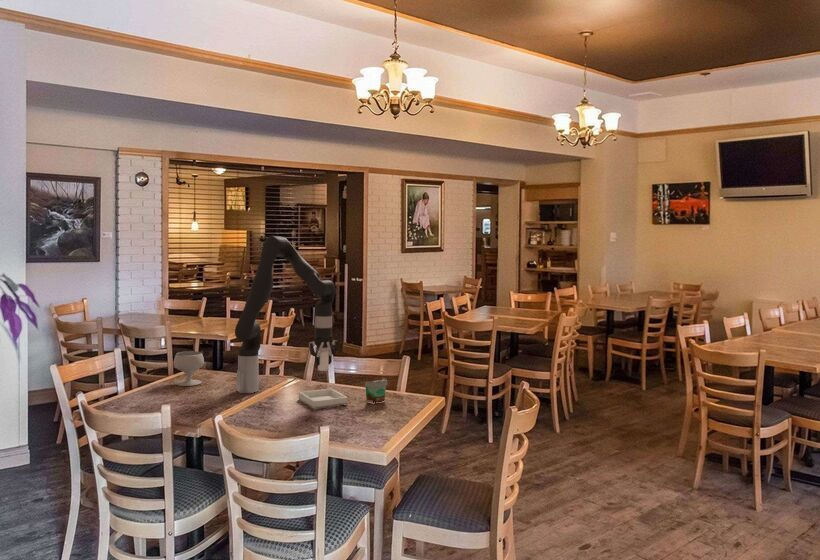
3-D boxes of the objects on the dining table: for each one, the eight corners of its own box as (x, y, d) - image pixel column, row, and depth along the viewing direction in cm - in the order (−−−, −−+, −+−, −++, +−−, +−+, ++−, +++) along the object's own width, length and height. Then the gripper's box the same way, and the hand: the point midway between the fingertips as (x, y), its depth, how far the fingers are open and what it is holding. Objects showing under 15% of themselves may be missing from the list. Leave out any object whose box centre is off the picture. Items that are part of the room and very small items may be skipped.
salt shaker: (320, 371, 279) (320, 348, 278) (316, 369, 283) (316, 346, 282) (330, 370, 281) (330, 347, 280) (326, 368, 285) (326, 346, 284)
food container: (375, 406, 278) (375, 383, 277) (364, 404, 282) (364, 381, 281) (392, 401, 288) (393, 379, 287) (382, 398, 291) (382, 376, 291)
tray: (314, 409, 271) (314, 401, 271) (298, 399, 286) (298, 392, 286) (347, 405, 279) (347, 397, 279) (331, 396, 294) (331, 388, 294)
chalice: (199, 379, 322) (199, 349, 321) (207, 385, 311) (207, 354, 309) (170, 382, 314) (170, 352, 313) (178, 388, 303) (177, 357, 302)
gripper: (335, 324, 287) (334, 361, 289) (304, 325, 280) (304, 364, 281) (342, 326, 281) (341, 364, 282) (311, 328, 274) (311, 367, 275)
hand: (323, 364), depth 282 cm, fingers closed on salt shaker, 4 cm apart
